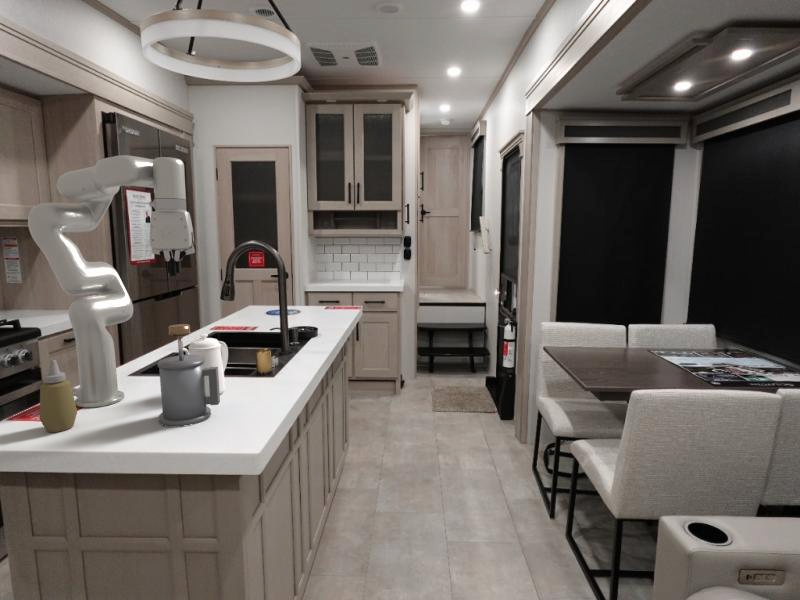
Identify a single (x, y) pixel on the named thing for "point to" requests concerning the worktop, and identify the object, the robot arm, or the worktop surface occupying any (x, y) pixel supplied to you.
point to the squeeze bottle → (57, 401)
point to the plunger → (179, 336)
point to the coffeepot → (210, 357)
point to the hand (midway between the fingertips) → (174, 275)
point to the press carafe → (186, 390)
